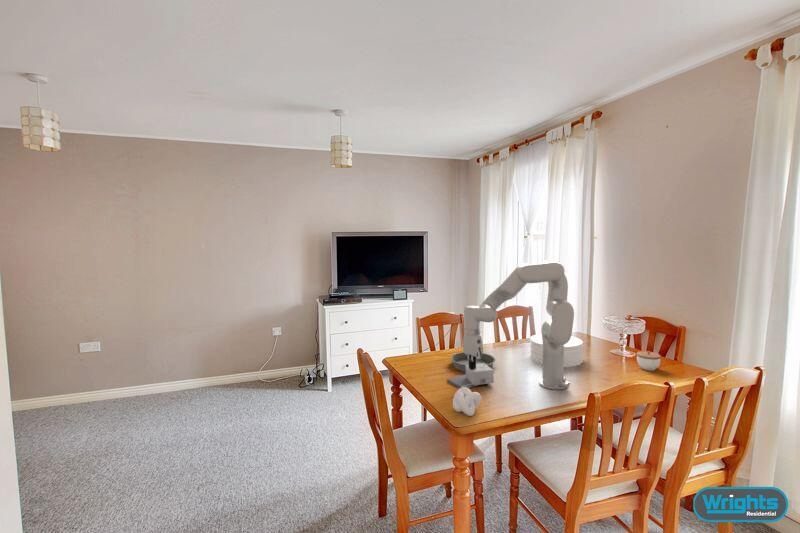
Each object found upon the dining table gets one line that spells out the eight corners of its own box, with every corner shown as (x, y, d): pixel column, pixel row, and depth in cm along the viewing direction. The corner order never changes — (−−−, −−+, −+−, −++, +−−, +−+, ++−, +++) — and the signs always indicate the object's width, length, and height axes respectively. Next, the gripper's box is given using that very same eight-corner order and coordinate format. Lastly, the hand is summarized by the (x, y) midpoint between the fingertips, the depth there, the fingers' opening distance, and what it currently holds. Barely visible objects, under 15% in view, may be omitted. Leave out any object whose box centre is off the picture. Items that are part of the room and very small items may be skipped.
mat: (484, 383, 186) (484, 380, 186) (462, 389, 179) (462, 386, 179) (468, 375, 197) (468, 373, 197) (447, 381, 190) (447, 378, 190)
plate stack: (549, 349, 240) (549, 331, 239) (592, 360, 216) (592, 340, 215) (520, 357, 224) (520, 338, 223) (563, 371, 201) (563, 349, 200)
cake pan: (480, 377, 195) (480, 368, 194) (442, 367, 212) (441, 359, 211) (503, 365, 212) (503, 357, 212) (466, 356, 229) (466, 348, 229)
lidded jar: (636, 363, 208) (636, 347, 208) (659, 367, 203) (660, 349, 202) (636, 370, 199) (636, 352, 198) (661, 373, 194) (661, 355, 193)
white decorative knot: (476, 404, 164) (476, 383, 163) (486, 416, 152) (486, 395, 151) (450, 406, 162) (450, 386, 161) (459, 419, 150) (459, 397, 150)
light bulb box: (494, 383, 182) (485, 375, 193) (493, 369, 182) (484, 362, 193) (473, 385, 180) (465, 377, 191) (472, 371, 180) (464, 364, 191)
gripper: (488, 333, 178) (488, 371, 180) (468, 327, 191) (468, 362, 193) (476, 335, 175) (476, 374, 176) (456, 329, 188) (456, 365, 189)
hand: (472, 368), depth 184 cm, fingers closed
